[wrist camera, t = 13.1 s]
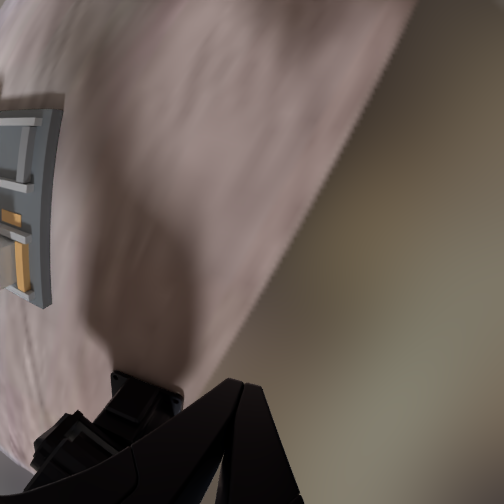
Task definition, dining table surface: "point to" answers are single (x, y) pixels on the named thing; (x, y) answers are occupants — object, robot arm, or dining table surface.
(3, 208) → the switch panel
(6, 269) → the light grey cube
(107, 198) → the dining table surface
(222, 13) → the dining table surface
